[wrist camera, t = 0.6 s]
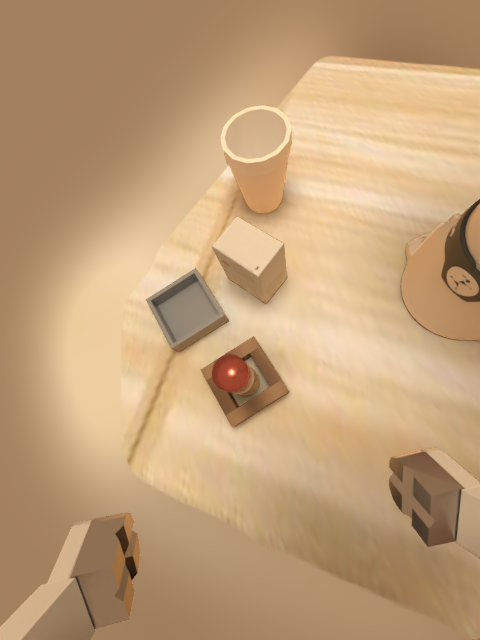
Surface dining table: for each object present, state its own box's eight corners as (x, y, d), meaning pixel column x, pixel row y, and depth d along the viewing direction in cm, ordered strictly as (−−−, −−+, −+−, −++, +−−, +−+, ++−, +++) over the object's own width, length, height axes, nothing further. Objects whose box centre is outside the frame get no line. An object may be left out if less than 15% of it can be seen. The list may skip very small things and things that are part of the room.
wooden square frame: (255, 339, 46) (253, 336, 44) (289, 392, 43) (288, 391, 41) (205, 371, 46) (200, 369, 43) (235, 426, 43) (232, 427, 41)
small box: (287, 277, 48) (286, 243, 38) (266, 305, 47) (258, 277, 37) (248, 252, 50) (236, 214, 40) (227, 278, 50) (210, 245, 40)
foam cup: (244, 172, 55) (230, 104, 42) (296, 176, 53) (296, 106, 40) (232, 218, 52) (213, 160, 40) (285, 224, 50) (282, 165, 38)
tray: (201, 276, 50) (195, 268, 47) (229, 320, 47) (224, 314, 44) (154, 305, 50) (145, 299, 47) (179, 352, 47) (171, 348, 44)
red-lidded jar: (250, 362, 45) (235, 347, 34) (264, 386, 44) (254, 378, 32) (227, 377, 45) (205, 366, 34) (241, 401, 44) (223, 398, 32)
